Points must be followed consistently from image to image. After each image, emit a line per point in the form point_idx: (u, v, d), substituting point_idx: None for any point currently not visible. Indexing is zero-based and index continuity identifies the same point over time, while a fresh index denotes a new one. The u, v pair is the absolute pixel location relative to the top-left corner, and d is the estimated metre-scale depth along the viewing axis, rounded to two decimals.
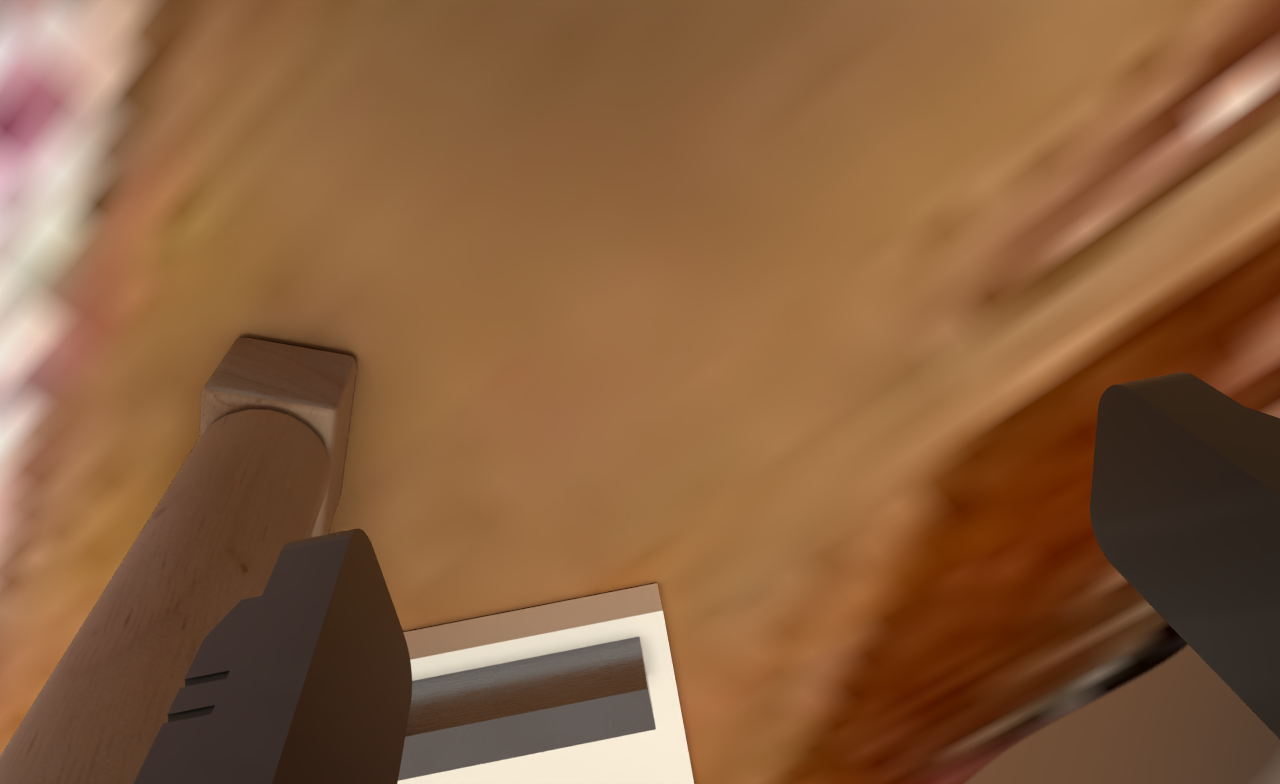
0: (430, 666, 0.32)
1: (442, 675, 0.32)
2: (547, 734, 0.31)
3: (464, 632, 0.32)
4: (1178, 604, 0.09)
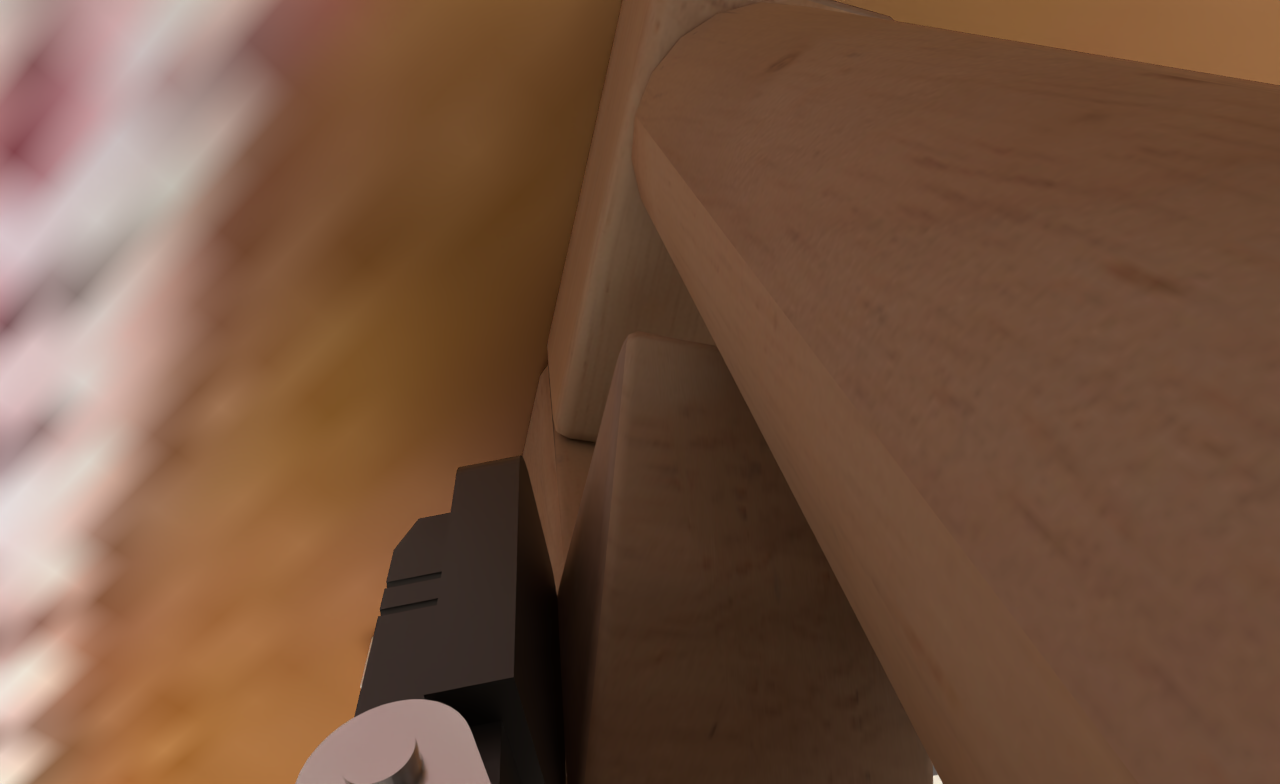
0: None
1: None
2: None
3: None
4: None
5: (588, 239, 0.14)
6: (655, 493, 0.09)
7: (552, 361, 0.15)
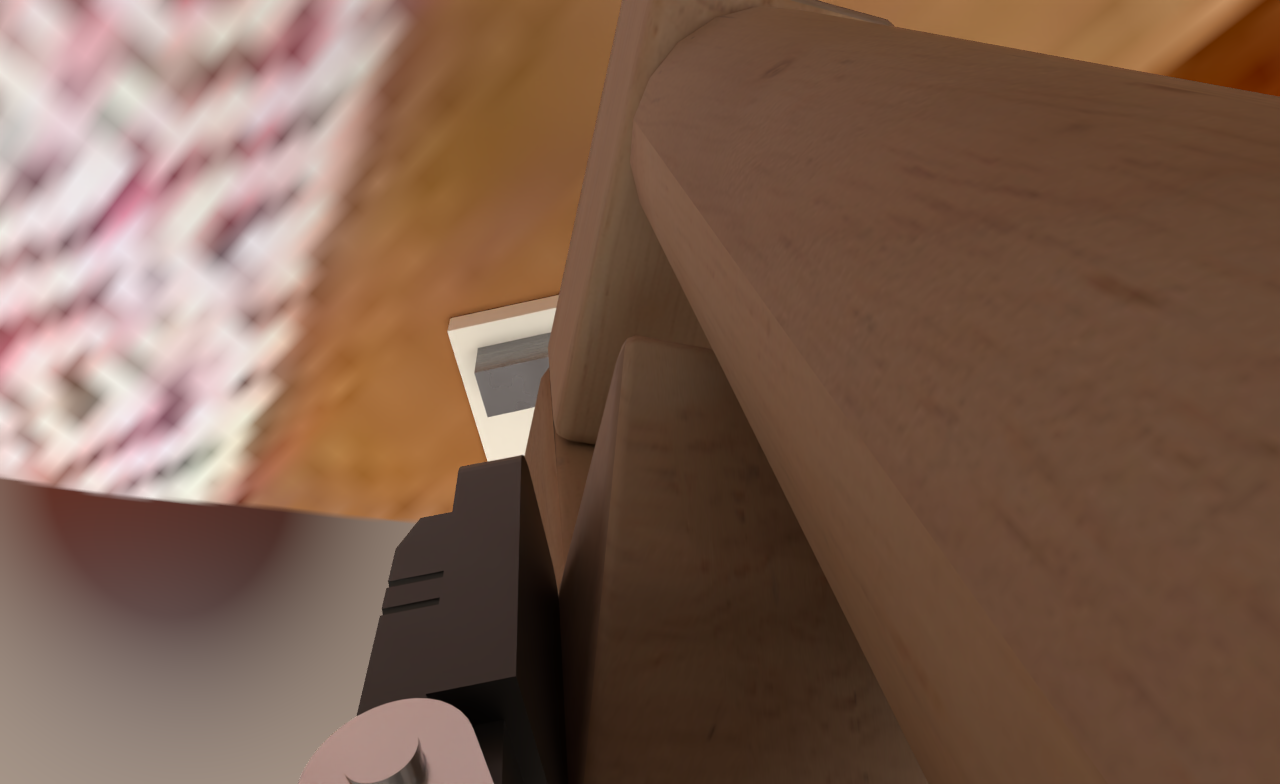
0: None
1: None
2: None
3: None
4: None
5: (588, 242, 0.14)
6: (652, 496, 0.09)
7: (553, 364, 0.16)
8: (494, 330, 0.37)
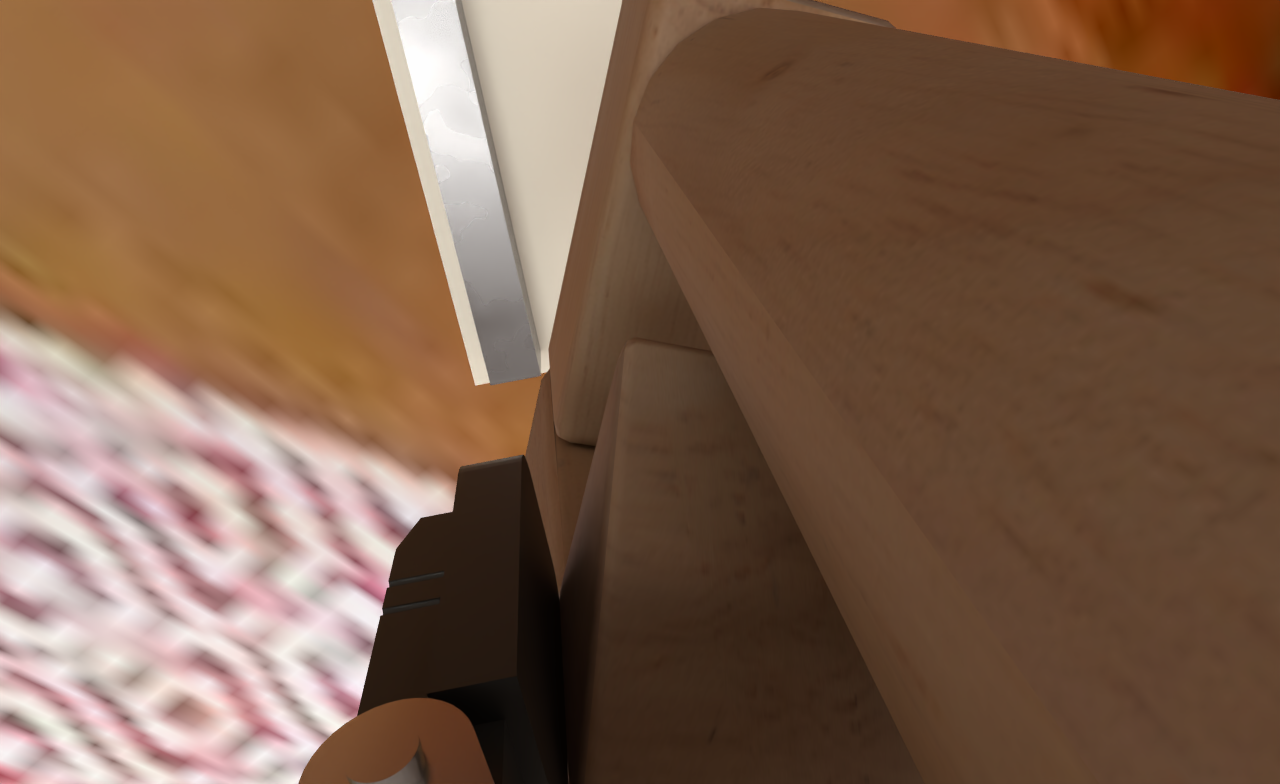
0: (421, 131, 0.33)
1: None
2: (433, 15, 0.29)
3: None
4: None
5: (588, 244, 0.14)
6: (653, 498, 0.09)
7: (553, 365, 0.16)
8: (474, 343, 0.37)
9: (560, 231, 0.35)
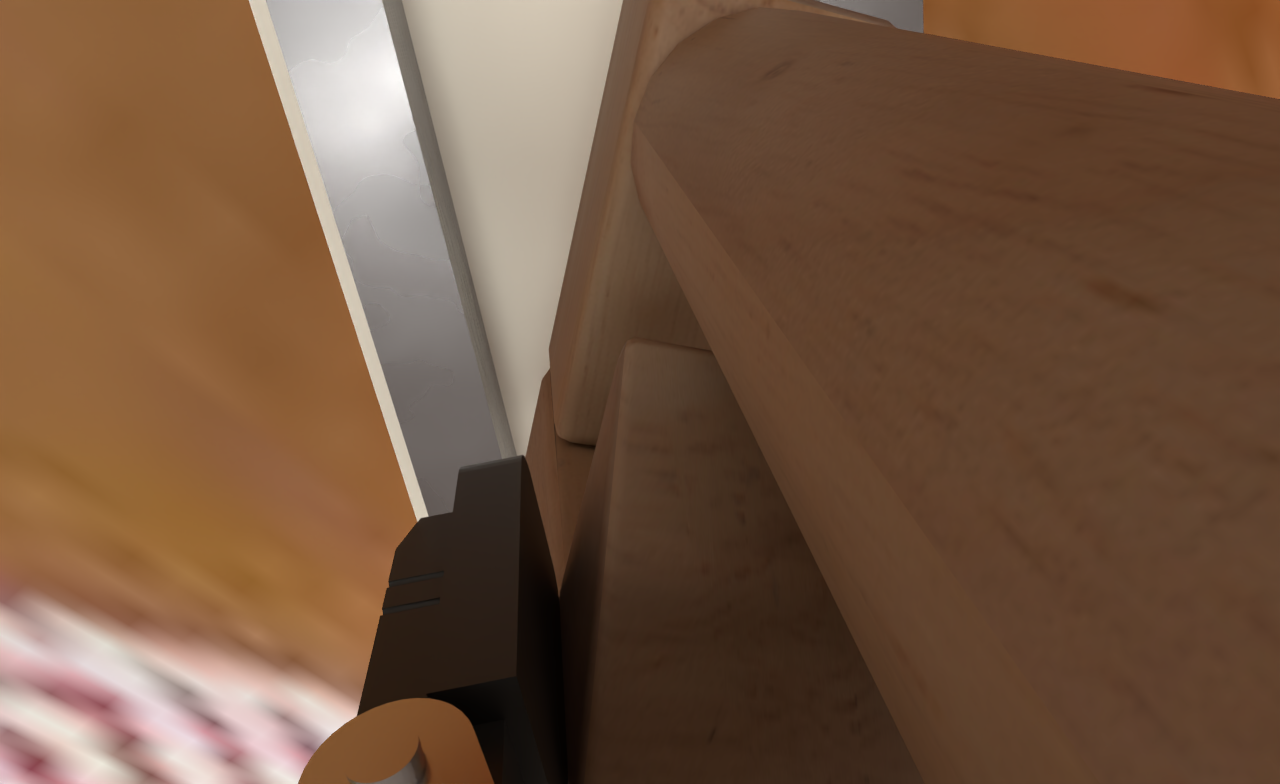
0: None
1: None
2: (353, 57, 0.16)
3: None
4: None
5: (588, 244, 0.14)
6: (652, 497, 0.09)
7: (553, 365, 0.16)
8: None
9: None
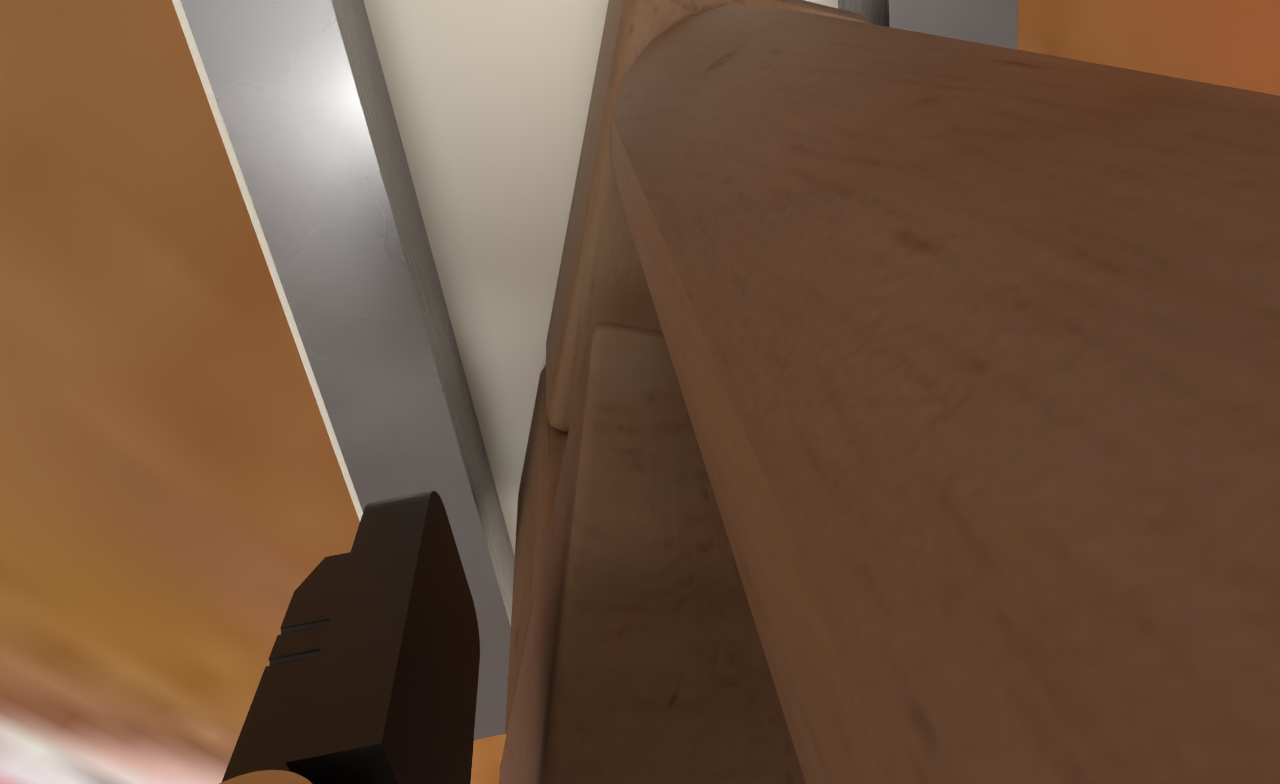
0: None
1: None
2: (297, 79, 0.13)
3: None
4: None
5: (575, 238, 0.14)
6: (618, 475, 0.09)
7: (548, 357, 0.16)
8: None
9: None
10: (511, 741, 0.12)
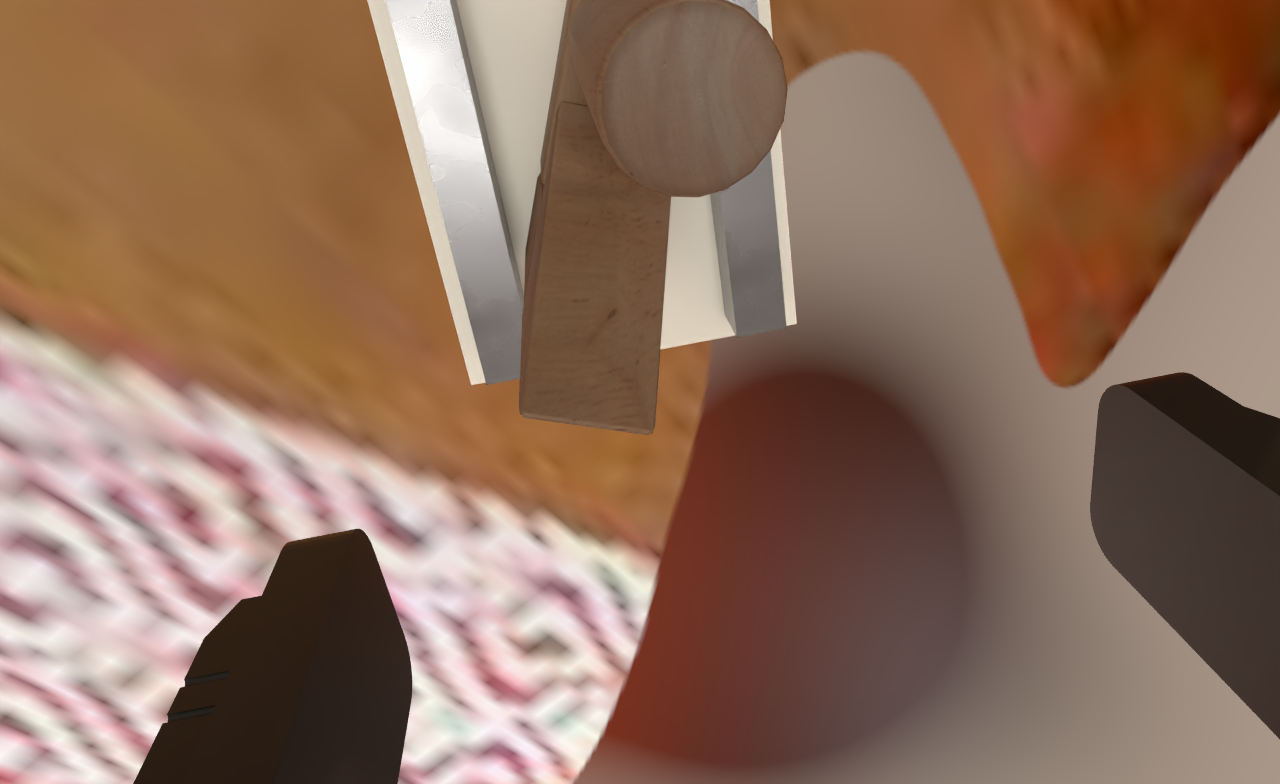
0: (416, 130, 0.33)
1: None
2: (428, 14, 0.29)
3: None
4: (1178, 604, 0.09)
5: (554, 91, 0.30)
6: (568, 151, 0.25)
7: (541, 160, 0.32)
8: (470, 343, 0.37)
9: None
10: (527, 288, 0.28)
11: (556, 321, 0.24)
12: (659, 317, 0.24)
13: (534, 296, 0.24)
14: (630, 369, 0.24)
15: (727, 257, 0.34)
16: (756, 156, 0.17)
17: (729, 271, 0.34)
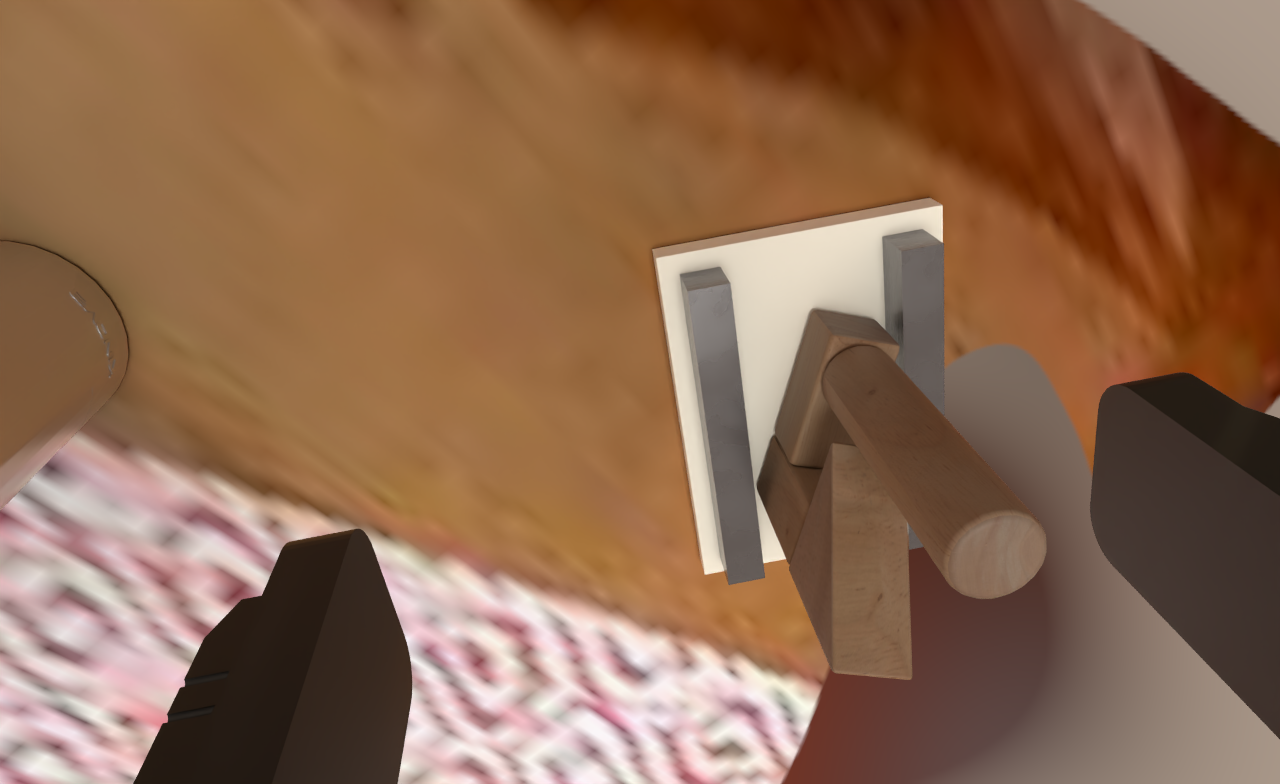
0: (689, 412, 0.46)
1: (698, 405, 0.46)
2: (723, 359, 0.42)
3: (674, 385, 0.46)
4: (1178, 604, 0.09)
5: (802, 403, 0.43)
6: (842, 480, 0.39)
7: (782, 438, 0.45)
8: (707, 547, 0.50)
9: None
10: (799, 555, 0.41)
11: (847, 605, 0.37)
12: (908, 597, 0.38)
13: (831, 587, 0.37)
14: (894, 635, 0.37)
15: None
16: (1027, 580, 0.30)
17: None
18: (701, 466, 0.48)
